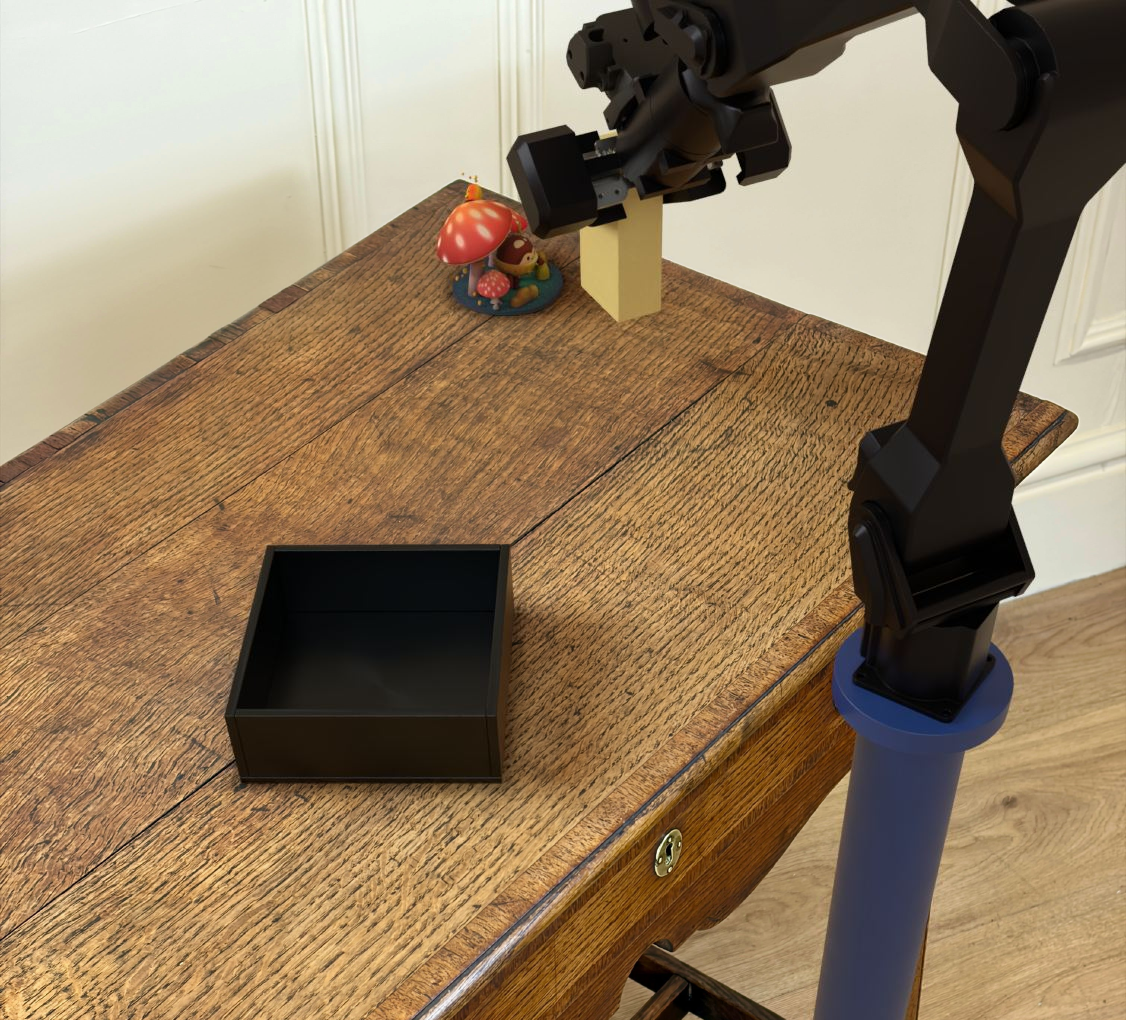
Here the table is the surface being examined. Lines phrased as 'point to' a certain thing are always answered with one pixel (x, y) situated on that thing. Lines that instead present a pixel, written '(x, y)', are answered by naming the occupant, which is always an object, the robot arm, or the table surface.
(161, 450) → the table surface
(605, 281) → the block
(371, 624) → the bin
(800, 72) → the robot arm
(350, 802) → the table surface
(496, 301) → the figurine
